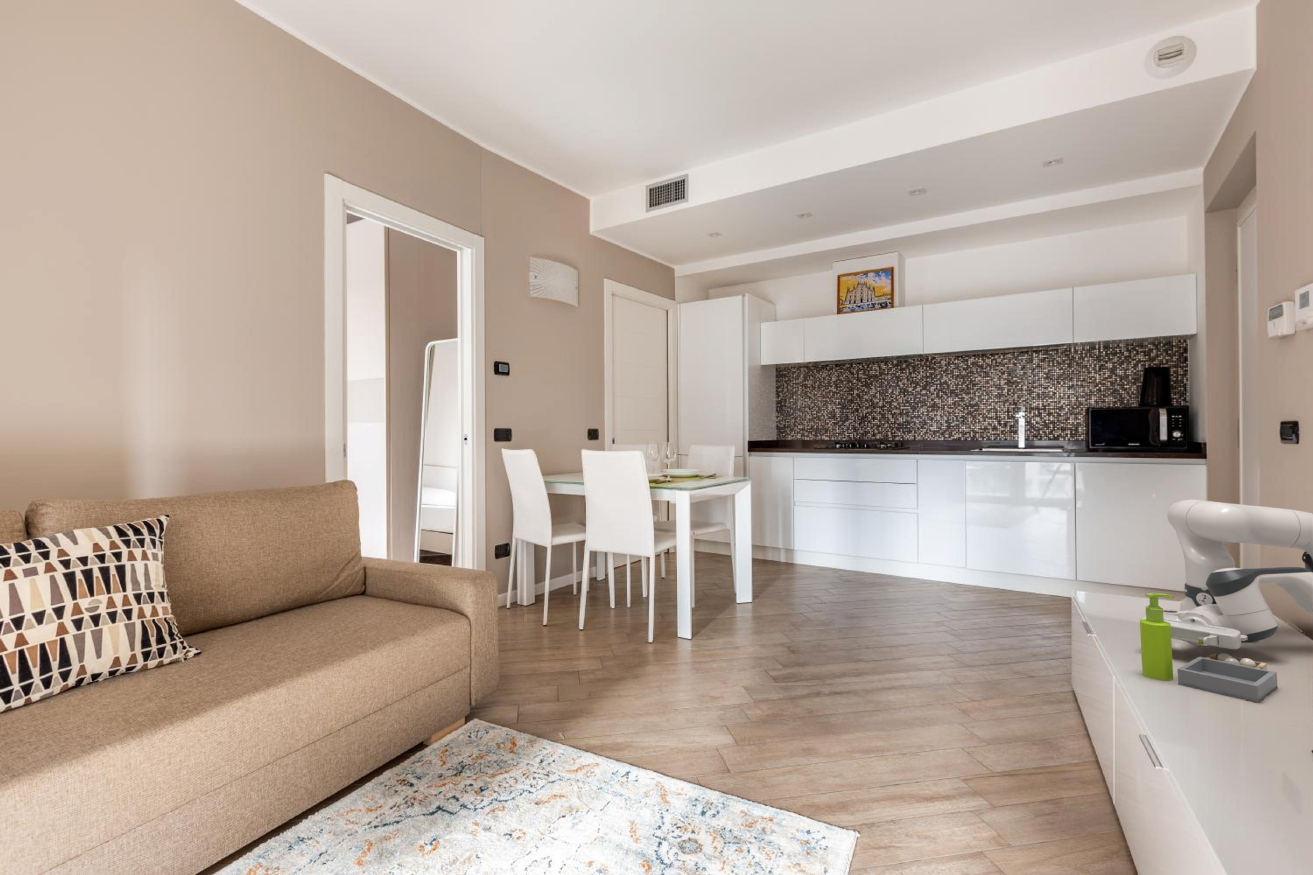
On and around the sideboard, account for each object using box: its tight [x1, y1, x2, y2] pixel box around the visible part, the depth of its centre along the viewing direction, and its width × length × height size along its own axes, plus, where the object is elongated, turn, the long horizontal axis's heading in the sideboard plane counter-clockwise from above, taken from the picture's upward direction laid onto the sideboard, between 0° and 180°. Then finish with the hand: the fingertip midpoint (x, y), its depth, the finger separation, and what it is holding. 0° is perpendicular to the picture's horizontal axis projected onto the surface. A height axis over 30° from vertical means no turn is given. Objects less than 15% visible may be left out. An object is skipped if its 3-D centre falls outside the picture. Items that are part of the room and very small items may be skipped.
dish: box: [1177, 656, 1278, 704], centre depth 146 cm, size 14×14×4 cm
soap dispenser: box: [1139, 592, 1175, 681], centre depth 154 cm, size 6×7×20 cm
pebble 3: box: [1239, 657, 1256, 668], centre depth 154 cm, size 3×3×3 cm
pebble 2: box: [1224, 657, 1240, 665], centre depth 154 cm, size 3×3×3 cm
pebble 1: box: [1217, 652, 1233, 661], centre depth 157 cm, size 3×3×3 cm
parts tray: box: [1205, 652, 1268, 670], centre depth 155 cm, size 8×10×2 cm
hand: (1178, 637), depth 160 cm, fingers open, 8 cm apart
